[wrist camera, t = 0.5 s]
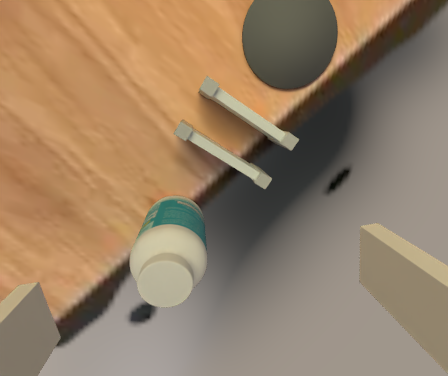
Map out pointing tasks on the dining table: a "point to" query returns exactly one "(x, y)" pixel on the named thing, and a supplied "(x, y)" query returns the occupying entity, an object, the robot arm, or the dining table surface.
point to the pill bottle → (169, 252)
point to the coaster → (289, 40)
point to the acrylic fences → (247, 115)
